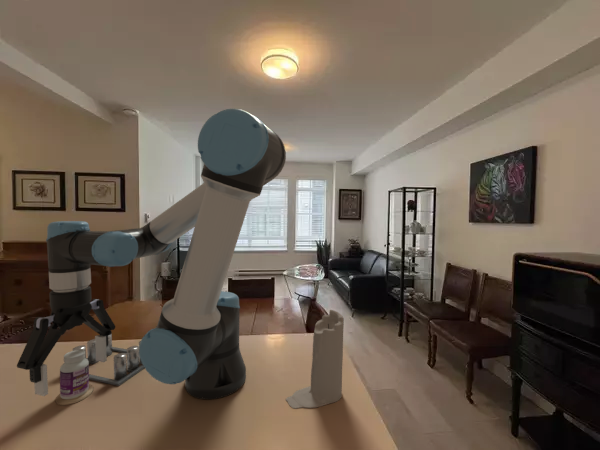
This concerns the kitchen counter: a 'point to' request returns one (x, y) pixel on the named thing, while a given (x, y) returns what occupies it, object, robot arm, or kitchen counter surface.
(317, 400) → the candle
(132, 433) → the kitchen counter surface
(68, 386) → the pill bottle
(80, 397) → the cork coaster
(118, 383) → the parts tray rim
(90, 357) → the spacers
